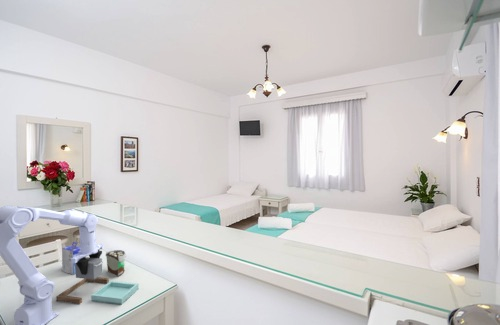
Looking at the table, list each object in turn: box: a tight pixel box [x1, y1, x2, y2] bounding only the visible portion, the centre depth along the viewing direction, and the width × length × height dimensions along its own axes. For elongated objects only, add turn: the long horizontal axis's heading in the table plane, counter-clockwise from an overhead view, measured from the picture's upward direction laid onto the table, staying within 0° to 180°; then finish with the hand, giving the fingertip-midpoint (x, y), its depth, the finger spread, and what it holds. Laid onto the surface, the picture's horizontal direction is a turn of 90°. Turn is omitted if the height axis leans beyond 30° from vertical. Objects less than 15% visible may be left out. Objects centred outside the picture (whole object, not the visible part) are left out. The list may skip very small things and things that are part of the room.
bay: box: [55, 276, 110, 305], centre depth 101 cm, size 15×11×2 cm
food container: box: [105, 249, 127, 278], centre depth 117 cm, size 12×6×10 cm, turn 59°
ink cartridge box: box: [61, 241, 80, 276], centre depth 118 cm, size 10×6×14 cm, turn 66°
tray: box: [90, 280, 139, 305], centre depth 98 cm, size 10×14×2 cm
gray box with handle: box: [75, 256, 103, 279], centre depth 100 cm, size 4×10×7 cm, turn 81°
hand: (89, 271), depth 100 cm, fingers closed on gray box with handle, 4 cm apart
